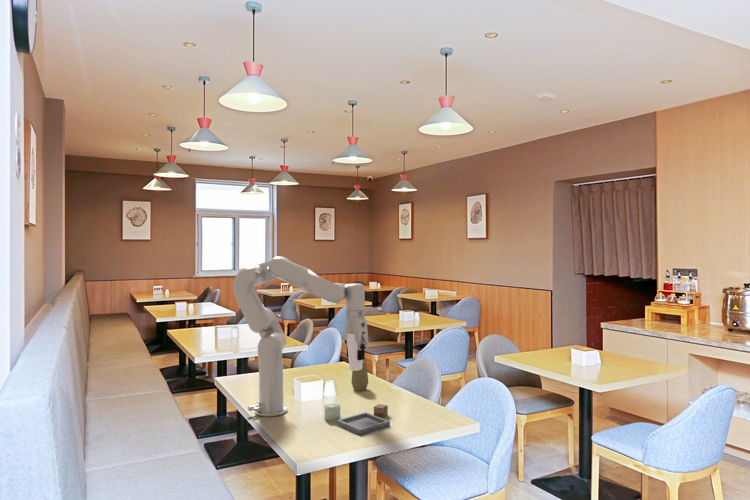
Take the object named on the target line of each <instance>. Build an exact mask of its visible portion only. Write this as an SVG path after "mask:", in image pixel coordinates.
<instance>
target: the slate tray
mask: <svg viewBox="0 0 750 500" xmlns="http://www.w3.org/2000/svg"><path fill="white" fill-rule="evenodd" d="M336 425H337V426H338V427H340V428H342V429H345V430H347V431H349V432H352V433H354V434H356V435H359V436H362V435H365V434H369V433H373V432H375V431H378V430H381V429H385V428H388V427H390V426H391V422H390V420H387V419H385V418H380V417H377V416H375V415H374V414H371V413H370V412H362V413H358V414H354V415H351V416H347V417H344V418H340V419H339V420H337V421H336Z"/></svg>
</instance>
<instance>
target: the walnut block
mask: <svg viewBox="0 0 750 500" xmlns="http://www.w3.org/2000/svg"><path fill="white" fill-rule="evenodd" d="M388 407H389V406H388V405H387V404H383V403H382V404H381V403H378V404H376V405H374V406H373V415H375V416H377V417H380V418H383V419H385V417H387V416H388V414H389V411H388V409H389V408H388Z"/></svg>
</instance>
